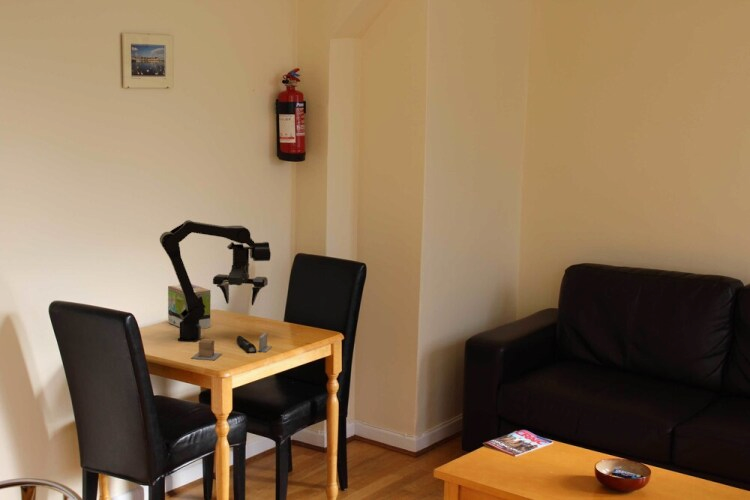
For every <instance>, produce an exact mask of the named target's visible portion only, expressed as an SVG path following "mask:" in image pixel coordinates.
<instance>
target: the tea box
mask: <svg viewBox="0 0 750 500" xmlns="http://www.w3.org/2000/svg"><path fill="white" fill-rule="evenodd" d="M191 285H192V287H193V290H194V292H195V294H196V295H198V294H200V295H201V297H202V300H203V304H204V305H205V306H206V308H204V309H205V313H204V316H203V317H202V318H200V320H199V326H201V330H203V329H209V328H211V295H212V294H211V292H212V291H211V289H208V288H205V287H202V286H199V285H196V284H193V283H191ZM185 309H186V306H185V300H184V294H183V291H182V288H181V286H180V284H177V285H176V284H175V285H168V286H167V319H168V320H167V321H168V322H167V323H168V324H171V325H173V326H175V327H178V328H180V322H181V321H182V319H181V317H180V314H181V313H182V312H183V311H184V310H185Z"/></svg>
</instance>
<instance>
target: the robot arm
mask: <svg viewBox="0 0 750 500" xmlns="http://www.w3.org/2000/svg"><path fill="white" fill-rule="evenodd" d="M192 233H194V234H201V235H205V236H206V235H207V236H212V237H213V236H214V237H220V238H224V239H227V240H229V241H231V242H230V244H229V245H227V246H226V248H227V249H228V250H232V265H231V270H230V271H229V273H228V274H216V275H214V277H213V278H212V284H213V285H216V287H219V288H220V290H221V292H222V293H223V297H224V300H225V304H227V305H228V304H229V303H230V301H229V300H230V286H234V285H235V286H239V287H240V286H242V285H243V284H245V285H247V284H250V285H253V287H251V289H252V293H251V295H252V296H251V306H254V305H255V302H256V299H257V296H258V294H259V292H260V290H262V289H263V288H265V287H267V285H268V283H269V282H268V278H267V277H266V276H255V277H254V278H250V274H249V271H250V270H249V269H250V259H252V261H253V262H270V260H271V256H272V254H271V248H270V243H269V242H268V241H263V242H255V240H253V239H252V237H251V232H250V229H248V228H247V227H245V226H243V225H216V224H212V223H205V222H198V221H193V220H190V219H188V220H185V221H184V222H183V223H181V224H180V225H177V226H176V227H174V228H172V230H170V231H164V232H163V233H162V234H161V235H160V237H159V243H160V245H161V247H162V248H163V250H164V251H165V253H166V255H167V256H168V258H169V260H170V262H171V264H172V265H171V266H172V267H173V270H174V273H175V275H176V278H177V280H178V283H179V285H180V286H181V288H182V291H183V294H184V300H185V306H186V309H185V310H184V311H183V312H182V313H181V314H180V317H181V319H182V321H181V322H180V327H179V338H177V340H178V341H181V342H182V341H184V342H185V341H186V342H196V341H198V340H199V339H201V337H202V332H201V330H202V329H201V326H199V320H200V318H202V317H203V316H204V313H205V309H204V308H206V306H205V305H204V304H203V300H202V297H201V295H200V294H198V295H196V294H195V292H194V290H193V287H192V285H191V284H192V282H191V280H190V277H189V275H188V272H187V269H186V266H185V264H184V261H183V258H182V256H181V247H180V243H181V242H182V241H183V240H184V239H186V238H187V237H188V236H190V234H192ZM234 242H236V243H234ZM244 244H245V245H247V246H244Z"/></svg>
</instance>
